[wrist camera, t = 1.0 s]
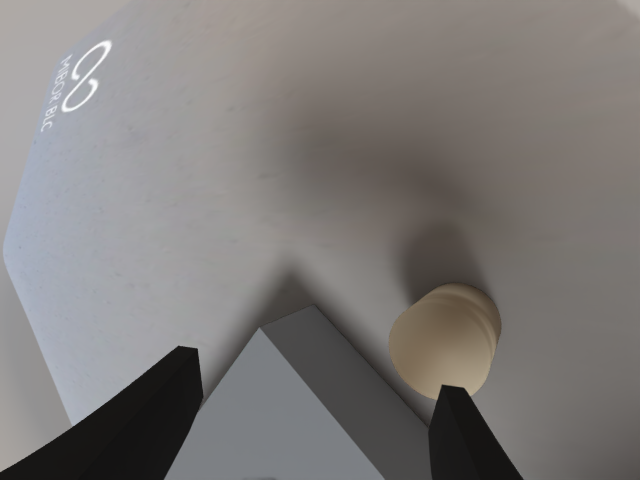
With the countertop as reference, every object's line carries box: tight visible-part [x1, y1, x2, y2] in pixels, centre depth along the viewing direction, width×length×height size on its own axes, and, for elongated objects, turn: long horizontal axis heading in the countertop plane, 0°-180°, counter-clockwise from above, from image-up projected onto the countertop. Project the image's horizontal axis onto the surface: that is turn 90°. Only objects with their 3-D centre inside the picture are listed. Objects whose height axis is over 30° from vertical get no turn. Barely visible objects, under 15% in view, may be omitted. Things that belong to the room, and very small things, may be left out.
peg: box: [389, 283, 501, 400], centre depth 18 cm, size 4×4×5 cm
